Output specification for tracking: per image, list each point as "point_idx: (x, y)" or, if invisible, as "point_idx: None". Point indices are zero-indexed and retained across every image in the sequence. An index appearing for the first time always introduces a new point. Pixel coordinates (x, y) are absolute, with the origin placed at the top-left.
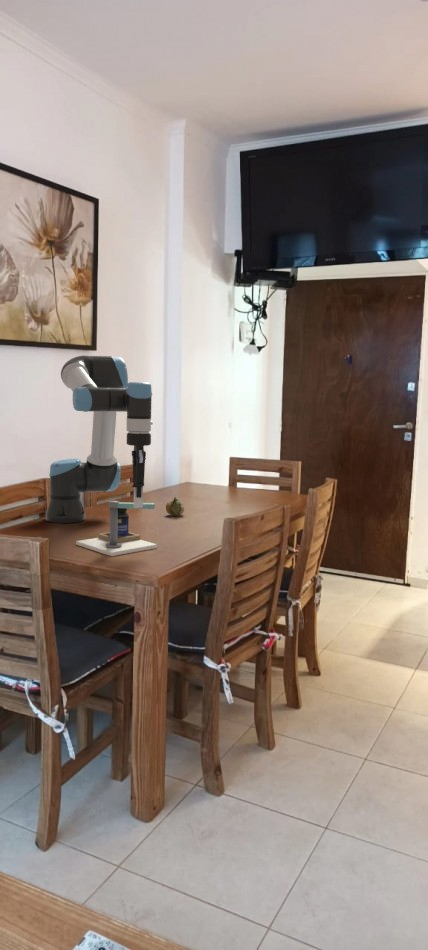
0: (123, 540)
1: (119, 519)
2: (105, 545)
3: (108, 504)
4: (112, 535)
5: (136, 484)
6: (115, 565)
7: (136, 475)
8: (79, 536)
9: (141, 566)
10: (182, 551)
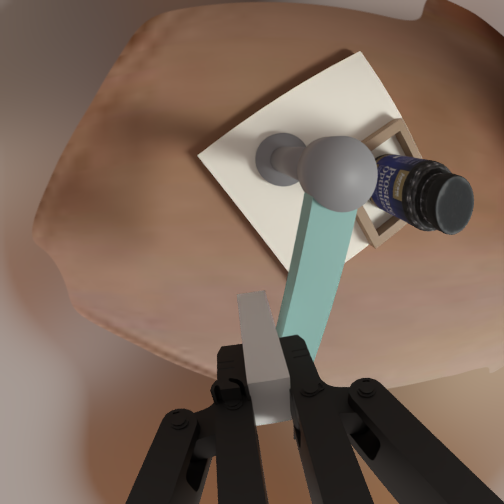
0: None
1: (400, 192)
2: (300, 132)
3: (326, 137)
4: (277, 156)
5: (162, 423)
6: (94, 177)
7: (131, 493)
8: (442, 81)
9: (91, 248)
10: None
